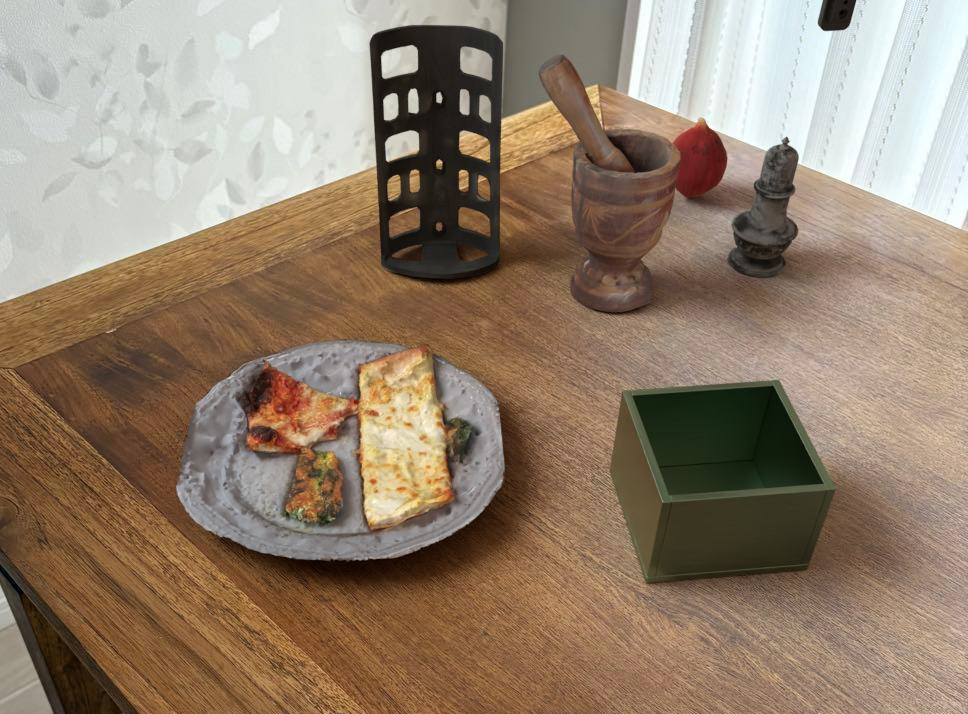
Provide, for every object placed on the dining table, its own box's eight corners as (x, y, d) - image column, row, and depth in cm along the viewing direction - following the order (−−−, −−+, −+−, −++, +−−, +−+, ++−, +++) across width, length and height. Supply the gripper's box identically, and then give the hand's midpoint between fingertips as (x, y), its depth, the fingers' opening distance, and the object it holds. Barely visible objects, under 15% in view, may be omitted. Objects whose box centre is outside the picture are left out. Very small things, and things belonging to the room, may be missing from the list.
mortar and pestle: (533, 321, 95) (551, 93, 81) (521, 266, 101) (535, 44, 87) (666, 316, 96) (707, 88, 82) (646, 261, 102) (681, 40, 88)
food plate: (210, 359, 92) (204, 323, 89) (492, 357, 92) (493, 321, 89) (164, 585, 75) (154, 549, 72) (510, 582, 75) (513, 546, 72)
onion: (730, 196, 110) (747, 118, 104) (697, 218, 107) (713, 140, 101) (681, 176, 113) (695, 99, 107) (648, 197, 110) (660, 119, 104)
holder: (383, 286, 99) (375, 51, 86) (373, 249, 104) (364, 22, 91) (505, 277, 100) (515, 43, 87) (488, 240, 106) (496, 16, 93)
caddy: (756, 460, 83) (779, 379, 78) (807, 570, 75) (836, 489, 70) (609, 471, 82) (622, 390, 77) (645, 583, 75) (662, 502, 69)
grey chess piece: (802, 266, 101) (837, 140, 93) (757, 286, 99) (788, 160, 90) (755, 237, 105) (785, 114, 96) (710, 256, 102) (736, 132, 94)
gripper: (976, -227, 68) (897, 42, 80) (884, -276, 78) (825, -30, 89) (858, -223, 67) (795, 48, 79) (780, -273, 77) (734, -26, 89)
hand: (811, 6), depth 84 cm, fingers open, 8 cm apart
